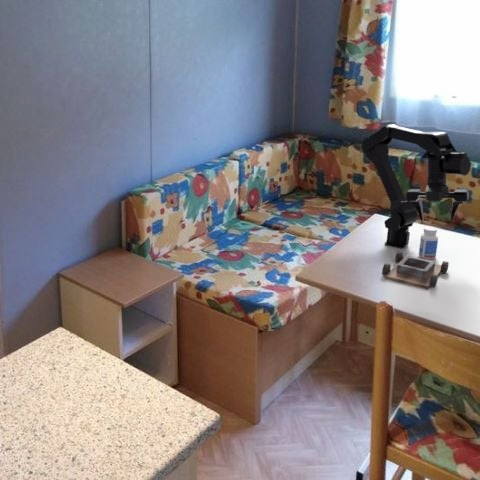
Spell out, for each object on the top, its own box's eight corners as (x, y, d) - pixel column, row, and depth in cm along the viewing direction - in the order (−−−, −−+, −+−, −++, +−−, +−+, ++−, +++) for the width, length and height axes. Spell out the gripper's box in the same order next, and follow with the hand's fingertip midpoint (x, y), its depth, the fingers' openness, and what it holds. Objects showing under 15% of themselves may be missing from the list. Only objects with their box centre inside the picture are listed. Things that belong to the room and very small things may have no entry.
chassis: (380, 277, 204) (381, 266, 202) (399, 258, 218) (400, 248, 217) (432, 290, 196) (433, 279, 195) (448, 269, 211) (450, 259, 209)
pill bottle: (438, 256, 221) (442, 228, 217) (430, 261, 217) (434, 232, 213) (423, 252, 224) (427, 224, 221) (415, 256, 220) (419, 228, 217)
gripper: (402, 177, 208) (402, 226, 212) (465, 177, 201) (465, 228, 204) (408, 171, 218) (408, 218, 222) (469, 171, 210) (468, 220, 214)
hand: (437, 221), depth 215 cm, fingers open, 9 cm apart
